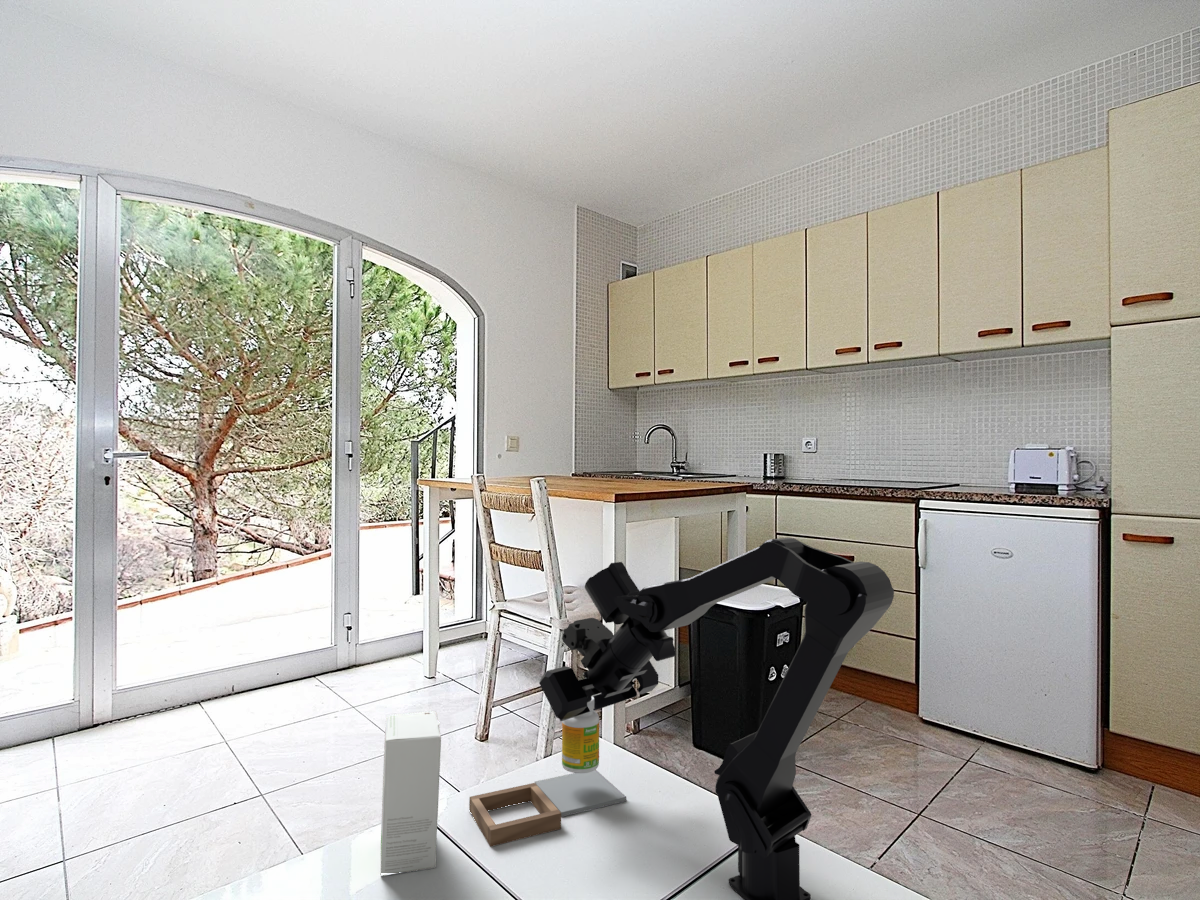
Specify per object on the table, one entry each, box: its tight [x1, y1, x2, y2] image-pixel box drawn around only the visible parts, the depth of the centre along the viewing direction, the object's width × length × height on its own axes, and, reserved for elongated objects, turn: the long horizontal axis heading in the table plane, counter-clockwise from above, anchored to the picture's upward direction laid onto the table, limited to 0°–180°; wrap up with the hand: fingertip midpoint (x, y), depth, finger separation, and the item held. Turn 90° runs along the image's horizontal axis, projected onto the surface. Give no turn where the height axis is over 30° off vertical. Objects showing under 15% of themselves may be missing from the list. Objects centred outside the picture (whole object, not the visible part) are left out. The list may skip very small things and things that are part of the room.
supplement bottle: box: [561, 696, 600, 773], centre depth 95 cm, size 5×5×10 cm
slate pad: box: [534, 769, 627, 818], centre depth 95 cm, size 10×10×1 cm
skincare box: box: [380, 710, 442, 874], centre depth 79 cm, size 8×7×16 cm
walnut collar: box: [468, 782, 562, 848], centre depth 87 cm, size 10×10×2 cm
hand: (574, 713), depth 96 cm, fingers closed on supplement bottle, 5 cm apart
